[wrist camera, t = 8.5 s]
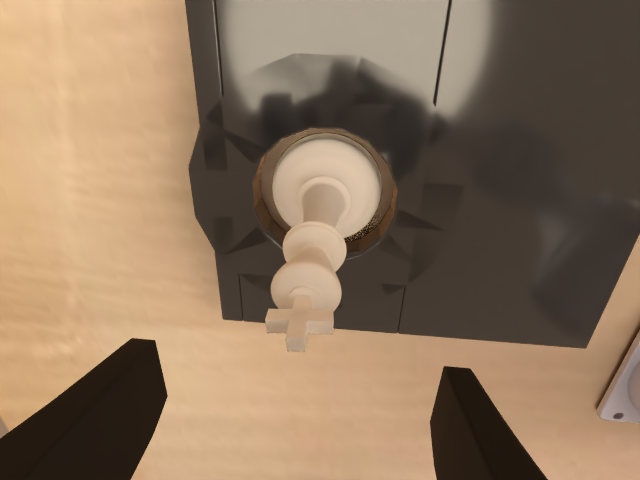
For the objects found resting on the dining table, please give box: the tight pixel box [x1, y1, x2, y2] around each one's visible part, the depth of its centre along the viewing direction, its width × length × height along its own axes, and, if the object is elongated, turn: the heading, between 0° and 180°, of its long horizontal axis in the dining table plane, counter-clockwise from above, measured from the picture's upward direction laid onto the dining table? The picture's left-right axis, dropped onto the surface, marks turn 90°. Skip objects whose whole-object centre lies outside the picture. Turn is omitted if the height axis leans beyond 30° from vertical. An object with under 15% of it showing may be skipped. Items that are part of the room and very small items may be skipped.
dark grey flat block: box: [185, 0, 640, 349], centre depth 17 cm, size 19×15×2 cm
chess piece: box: [265, 133, 382, 352], centre depth 14 cm, size 5×5×10 cm
